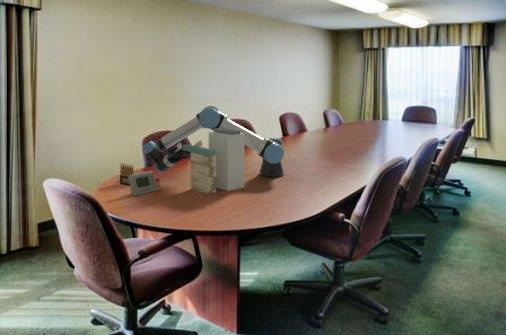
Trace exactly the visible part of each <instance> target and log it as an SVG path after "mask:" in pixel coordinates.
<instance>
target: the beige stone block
mask: <svg viewBox="0 0 506 335" xmlns="http://www.w3.org/2000/svg"><path fill="white" fill-rule="evenodd" d="M190 189H191V190H194V191H197V192H198V193H199V192H200V193H202V194H206V195H209V194H214V193H217V188H216V155H215V156H207V155H203V154H198V153H193V152H192V153H191V154H190Z"/></svg>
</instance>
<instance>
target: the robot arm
mask: <svg viewBox="0 0 506 335" xmlns="http://www.w3.org/2000/svg"><path fill="white" fill-rule="evenodd" d="M214 128H217V129H221V128H228V129H235V130H240V133H244V134H245V146H246V147H248V148H250V149H251V150H253V151H255V152H256V154H257V156H259V157H260V158H262V162H261V165H260V169H259V174H258V175H260V176H262V177H267V178H268V177H269V178H278V177H283V176H284V175H285V174H284V170H283V169H284V168H283V165H282V160H283V158H284V156H285V150H284V148H283V146H282V143H283V142H282V138H280V137H273V138H272V137H264V138H263V137H261V136H260V135H258V134H256V133H254V132H253V131H251V130H249V129H247V128H245V127H244V126H241V125H240V124H238V123H236V121H235V122H234V121H233V120H231V119H229V118H228V115H227V114H226V113H224V112H223V111H220V110H219V109H218V108H217V107H216V106H215V105H214V106H213V105H208V106H206V107H204V108H203V109H202V110H201V111H200V112H198V113H197V114H196V115H195V117H193V118H192V119H190V120H189V121H187V122H185V123H184V124H181V126H179V127H177V128H175V129H174V130H172V131H170V132H169V133H167V134H166V135H164V136H162V137H161V138H159V139H157V140H154V141H153V140H150V141H148V142H147V143H146V144H144V145H143V147H142V151H143V152H144V153H145V154H146V155H147V156H148V157H149V159H151V161H152V162H153V163H154V169H155V171H156V172H158V173H161V174H162V173H164V172H167V171H168V170H169V169H171V168H173V167H174V165H176V164H178V163H179V162H180V161H181V159H182V157H184V156H185V157H187V156H189V155H191V153H192V152H189V151H184V150H183V144H182V143H181V141H183V140H184V139H186V138H188V137H189V136H192V134H195V133H196V132H198V131H199V130H201V129H208V130H212V132H214ZM174 145H175V146H174ZM173 146H174V147H173ZM193 146H198V147H202V146H203V142H202V140H198V141H197V142H195V143H194V144H193ZM170 147H172V148H170ZM166 150H167V152H166V154H164V152H165V151H166Z"/></svg>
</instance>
